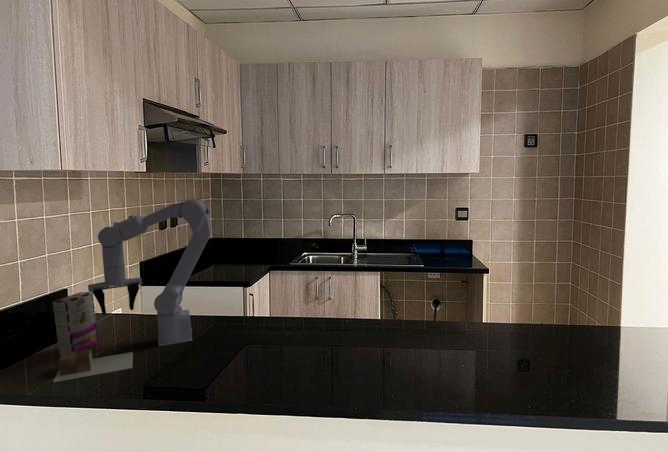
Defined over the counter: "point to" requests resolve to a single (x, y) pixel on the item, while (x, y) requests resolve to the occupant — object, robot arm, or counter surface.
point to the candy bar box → (75, 322)
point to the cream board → (102, 366)
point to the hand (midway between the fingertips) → (118, 311)
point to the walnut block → (75, 362)
